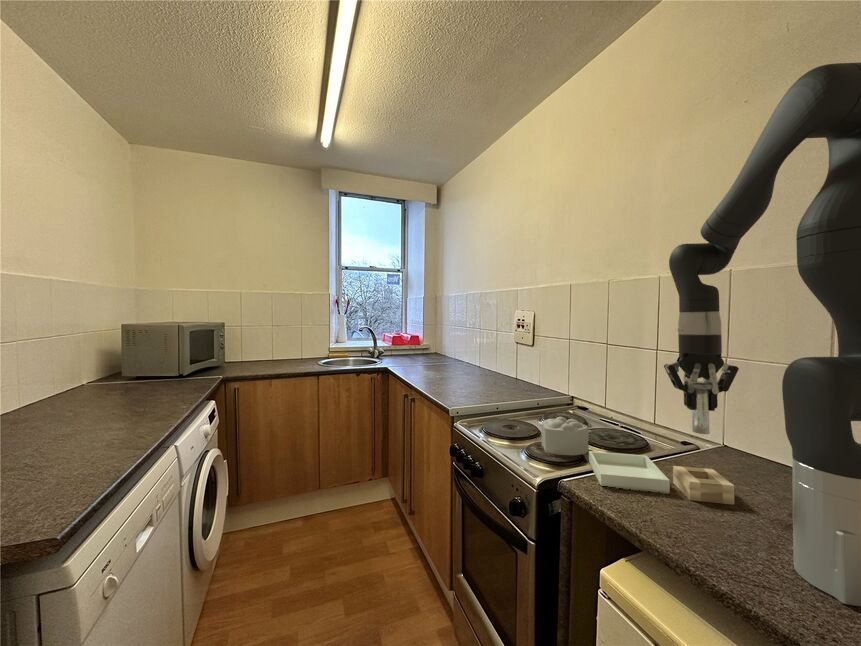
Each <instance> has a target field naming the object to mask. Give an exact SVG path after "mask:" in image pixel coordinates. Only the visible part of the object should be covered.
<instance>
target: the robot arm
mask: <svg viewBox="0 0 861 646" xmlns="http://www.w3.org/2000/svg"><path fill="white" fill-rule="evenodd" d="M806 139H826V143H827V146H828V147H827V148H828V169H827V175H826V177H825V179H824V183H823V184H822V186H821V188H820V190H819V191H818V192H817V194H816V195H815V196H814V198H813V200H812V201H811V202H810V203H809V205H808V207H807V208H806V210H805V212H804V214H803V215H802V217H801V218H800V220H799V223H798V225H797V229H796V235H795V236H796V237H795V238H796V239H795V241H796V264H797V265H796V267H797V271H798V274H799V276H800V278H801V280H802V281H803V283H804V284H805V285H806V287H807V288H808V290H809V291H810V292H811V293H812V294H813V296H814V297H815V298H816V300H818V302H820V303H821V305H822V306H823V308H824V309H825V310H826V311H827V313H828V314H829V316H830V317H831V319H832V322H833V324H834V328H835V331H836V336H837V337H836V338H837V344H838V345H837V351H838V352H837V356H809V357H808V356H807V357H801V358H797V359H794V360H793V361H792V362H790V364H788V366H787V367H786V369H785V371H784V373H783V377H782V384H781V385H782V388H781V391H782V405H783V413H784V426H785V433H786V436H787V439H788V442H789V444H790V447H791V452H792V453H791V456H792V458H791V459H792V461H791V463H792V465H791V466H792V468H791V469H792V542H793V544H792V545H793V546H792V548H793V567H794V570H795V571H796V573H797V574H798V575H799V576H800V577H801V578H803V580H805V582H807V583H808V584H811V585H812V586H813V587H815V588H817V589H819V590H820V591H823V592H824V593H826V594H828V595H830V596H832V597H834V598H835V599H836V600H837V601H839V602H840V603H841V604H845V605H849V606H855V607H861V443H858V442H857V441H856V439H855V438H854V433H853V427H852V422H861V62H843V63H842V62H839V63H837V62H836V63H827V64H823V65H819V66H816V67H815V68H812V69H810V70H808V71H807V72H805V73H804V74H803V75H801V76H800V77H799V78H798V79H797V80H796V81H795V82H794V83H792V85H791V86H790V87H789V88H788V89H787V91H786V92H785V93H784V95H783V97H782V98H781V99H780V100H779V102H778V104H777V105H776V107H775V109H774V110H773V112H772V114H771V116H770V117H769V118H768V121H767V123H766V124H765V127H764V128H763V130H762V132H761V133H760V135H759V136H758V139H757V141H756V142H755V144H754V146H753V147H752V149H751V151H750V154H749V155H748V157H747V159H746V161H745V162H744V165H743V166H742V168H741V169H740V171H739V174H738V175H737V178H736V179H735V180H734V182H733V183H732V185H731V187H730V188H729V190H728V191H727V192H726V194H725V196H724V197H723V198H722V200H721V201H720V202H719V203H718V204H717V206H716V207H715V208H714V210H713V211H712V212H711V214H710V215H709V216H708V217H707V219H706V220H705V222H704V223H703V224H702V226H701V228H700V236H701V237H702V238H703V239H704V240H705V241H706V242H705V243H702V242H701V243H700V242H699V243H681V244H679V245H678V246H676V247H675V248H674V249H672V251H671V253H670V256H669V259H668V265H669V270H670V274H671V277H672V279H673V282H674V285H675V288H676V290H677V294H678V307H679V310H678V311H679V314H678V320H677V321H678V323H677V333H678V357H677V359H676V361H675V362H671V363H665V364H663V367H664V370H665V372H666V373H667V376H668V378H669V380H670V382H671V384H672V385H673V388H675V389H677V390H679V391H682V392H683V404H684V407H686V409H688V410H690V411H692V410H695V394H694V393H693V392H694V389H695V388H693V384H696V383H697V381H698V379H702V382H706V383H709V384H713V389H709V412H715V410H716V409H717V408H718V404H719V403H718V394H719V393H722V392H724V393H725V392H729V390H730V388H731V385H732V384H733V381H734V380H735V378H736V376H737V374H738V372H739V367H738V366H736V365H731V364H728V363H725V361H724V359H723V358H722V353H723V349H722V348H723V346H722V343H723V342H722V341H723V340H722V337H723V336H722V319H721V314H720V313H721V312H720V291H719V289H718V288H717V287H716V286H715V285H710V284H707V283H703V282H702V281H701V278H700V276H709V275H715V274H717V273H720V272H721V271H723V270H724V269H726V267H728V265H729V264H730V262H731V260H732V257H733V256H734V254H735V252H736V250H737V248H738V245H739V243H740V242H741V239H742V238H743V237H744V236H745V235H746V234H747V233H748V232H749V231H750V230H751V228H752V227H753V226H754V225H755V224H756V223H757V222H758V221H759V220H760V219H761V217H762V216H763V215H764V214H765V212H766V211H767V209H768V207H769V206H770V204H771V200H772V198H773V194H774V193H773V192H774V188H775V182H776V178H777V175H778V172H779V170H780V168H781V167H782V164H783V163H784V162H785V160H786V159H787V158H788V157H789V156H790V155H791V153H792V152H794V150H795V149H796V148H797V147H799V146H800V145H801V143H802V142H803V141H805V140H806ZM679 368H680V369H681V370H682V372H683V378H682V379H683V381H682V380H681V377H680V375H679V371H680V369H679ZM720 370H721V375H720V377H719V379H718V377H717V374H718V372H719V371H720Z"/></svg>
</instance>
